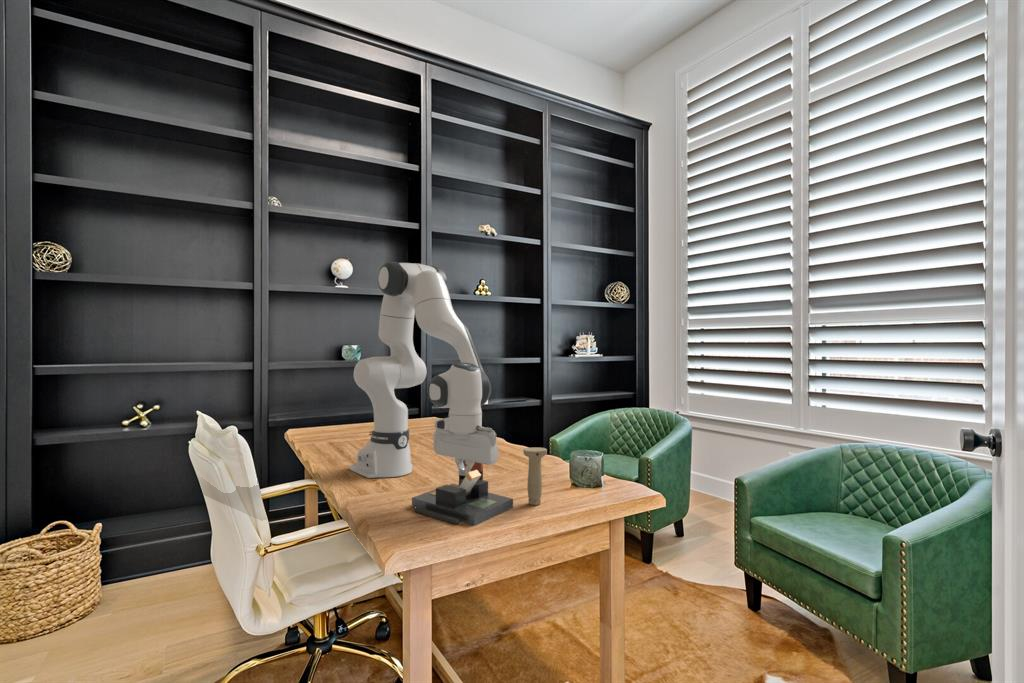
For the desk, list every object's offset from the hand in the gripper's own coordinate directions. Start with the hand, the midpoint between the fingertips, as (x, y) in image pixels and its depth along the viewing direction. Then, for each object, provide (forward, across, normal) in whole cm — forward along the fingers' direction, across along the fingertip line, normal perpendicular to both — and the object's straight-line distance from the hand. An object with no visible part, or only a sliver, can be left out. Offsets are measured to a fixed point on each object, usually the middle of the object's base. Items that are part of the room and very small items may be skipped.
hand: (464, 475), depth 131 cm
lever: (+6, +2, 0) cm, 6 cm away
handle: (+9, -13, -14) cm, 21 cm away
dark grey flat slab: (+9, +1, 0) cm, 9 cm away
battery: (+9, +10, -14) cm, 19 cm away
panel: (+9, +1, 0) cm, 9 cm away
